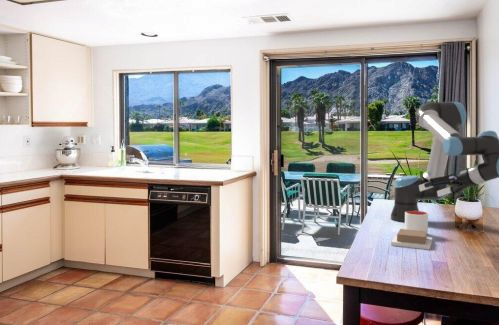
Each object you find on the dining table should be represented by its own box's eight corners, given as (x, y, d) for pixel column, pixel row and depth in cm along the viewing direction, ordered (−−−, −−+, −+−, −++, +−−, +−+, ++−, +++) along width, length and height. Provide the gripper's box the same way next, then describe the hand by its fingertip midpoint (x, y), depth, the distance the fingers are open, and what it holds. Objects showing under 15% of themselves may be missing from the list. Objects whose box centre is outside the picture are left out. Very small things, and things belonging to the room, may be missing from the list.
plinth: (395, 237, 198) (396, 227, 198) (432, 240, 192) (432, 230, 191) (391, 245, 185) (391, 234, 184) (429, 249, 178) (430, 238, 178)
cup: (430, 233, 205) (431, 212, 204) (422, 237, 197) (423, 215, 197) (409, 230, 212) (410, 209, 211) (400, 234, 204) (401, 212, 203)
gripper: (458, 178, 177) (413, 194, 192) (491, 189, 190) (446, 203, 206) (454, 161, 180) (410, 178, 196) (487, 173, 193) (443, 188, 209)
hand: (428, 191), depth 201 cm, fingers open, 13 cm apart
